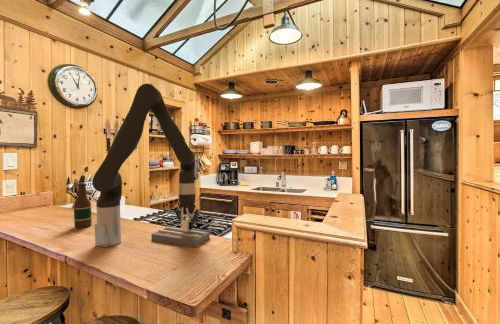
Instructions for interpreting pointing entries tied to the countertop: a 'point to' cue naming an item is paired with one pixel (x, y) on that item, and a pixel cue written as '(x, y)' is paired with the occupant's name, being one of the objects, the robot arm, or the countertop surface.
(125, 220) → the countertop surface
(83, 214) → the beer bottle
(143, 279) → the countertop surface
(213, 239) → the countertop surface
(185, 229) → the fader tab
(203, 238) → the console
